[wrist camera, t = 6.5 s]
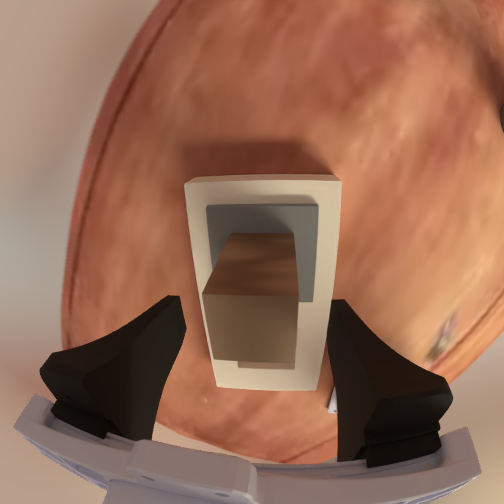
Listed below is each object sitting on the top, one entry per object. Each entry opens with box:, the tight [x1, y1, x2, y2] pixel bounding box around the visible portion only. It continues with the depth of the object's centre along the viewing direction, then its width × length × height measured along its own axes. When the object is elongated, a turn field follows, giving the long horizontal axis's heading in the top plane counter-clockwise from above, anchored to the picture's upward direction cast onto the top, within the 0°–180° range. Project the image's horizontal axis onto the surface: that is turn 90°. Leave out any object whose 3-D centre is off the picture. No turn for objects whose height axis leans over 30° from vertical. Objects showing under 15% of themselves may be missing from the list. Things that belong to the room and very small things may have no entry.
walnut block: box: [202, 233, 299, 363], centre depth 15 cm, size 4×4×7 cm
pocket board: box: [184, 174, 342, 391], centre depth 22 cm, size 10×20×2 cm, turn 3°
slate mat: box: [206, 204, 319, 302], centre depth 18 cm, size 7×7×1 cm
